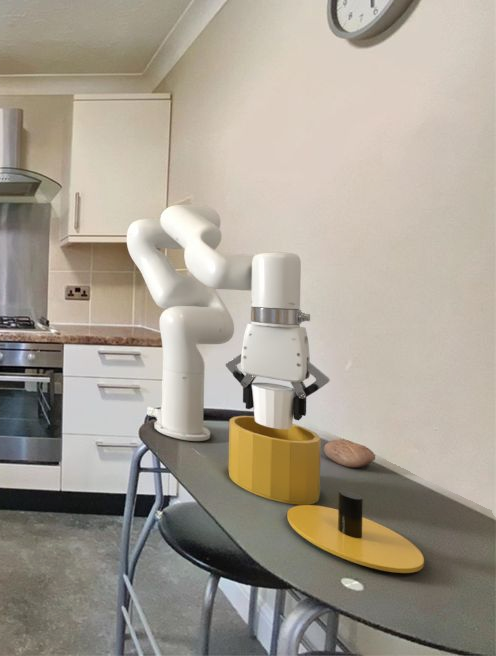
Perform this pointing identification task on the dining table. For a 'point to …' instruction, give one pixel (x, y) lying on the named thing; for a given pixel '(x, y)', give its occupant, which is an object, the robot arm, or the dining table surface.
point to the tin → (275, 461)
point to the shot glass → (273, 405)
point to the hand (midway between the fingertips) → (273, 412)
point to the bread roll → (348, 453)
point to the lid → (355, 535)
